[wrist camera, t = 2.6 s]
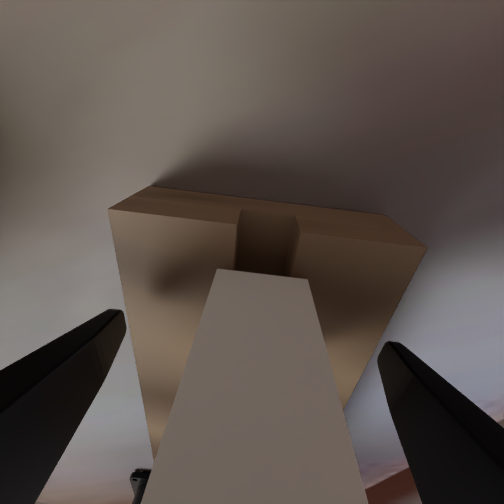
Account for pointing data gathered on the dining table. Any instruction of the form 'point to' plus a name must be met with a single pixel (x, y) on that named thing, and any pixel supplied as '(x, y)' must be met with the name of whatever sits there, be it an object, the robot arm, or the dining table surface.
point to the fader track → (254, 261)
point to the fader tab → (256, 405)
